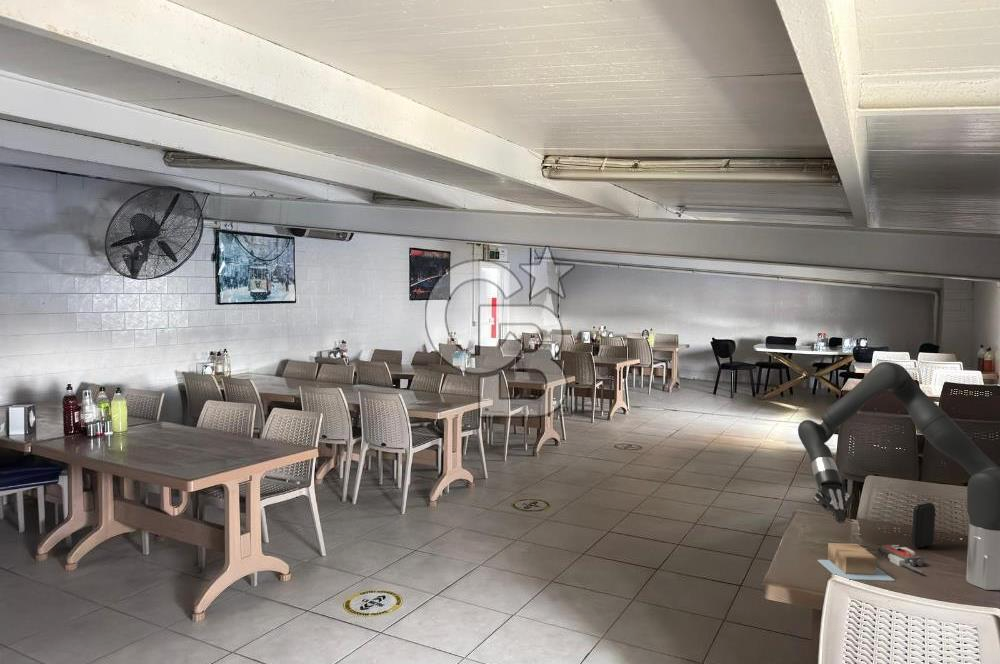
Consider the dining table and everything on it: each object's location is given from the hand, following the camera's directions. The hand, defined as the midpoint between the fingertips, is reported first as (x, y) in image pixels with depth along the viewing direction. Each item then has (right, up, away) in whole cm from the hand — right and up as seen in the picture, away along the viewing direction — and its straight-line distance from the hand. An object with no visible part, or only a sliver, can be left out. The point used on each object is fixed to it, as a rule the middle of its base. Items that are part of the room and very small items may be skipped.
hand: (841, 522), depth 222 cm
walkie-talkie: (+19, -13, -1) cm, 24 cm away
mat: (0, -12, -9) cm, 15 cm away
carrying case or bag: (+34, -12, +14) cm, 39 cm away
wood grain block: (0, -9, 0) cm, 9 cm away
